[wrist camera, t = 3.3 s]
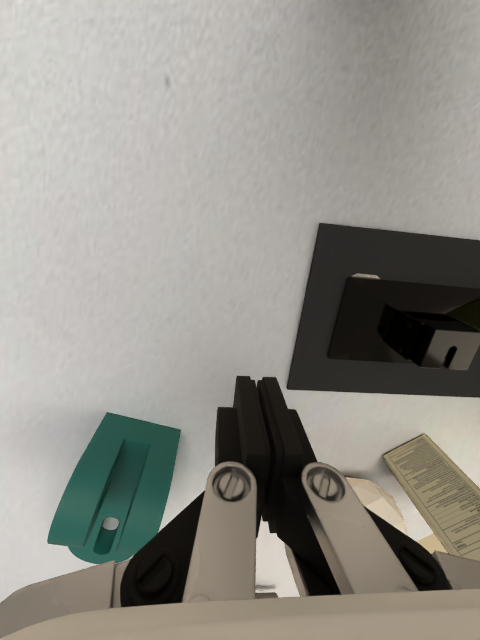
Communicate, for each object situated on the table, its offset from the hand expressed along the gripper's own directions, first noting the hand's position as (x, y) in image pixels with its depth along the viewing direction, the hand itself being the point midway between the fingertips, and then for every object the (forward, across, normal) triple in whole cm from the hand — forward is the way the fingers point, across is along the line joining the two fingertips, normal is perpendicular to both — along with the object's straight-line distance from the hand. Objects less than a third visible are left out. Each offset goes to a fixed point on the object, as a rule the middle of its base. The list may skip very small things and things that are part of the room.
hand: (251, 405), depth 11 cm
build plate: (+10, -14, -1) cm, 18 cm away
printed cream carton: (+11, -20, +14) cm, 27 cm away
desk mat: (+10, -17, -1) cm, 20 cm away
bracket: (+11, +10, +19) cm, 24 cm away
